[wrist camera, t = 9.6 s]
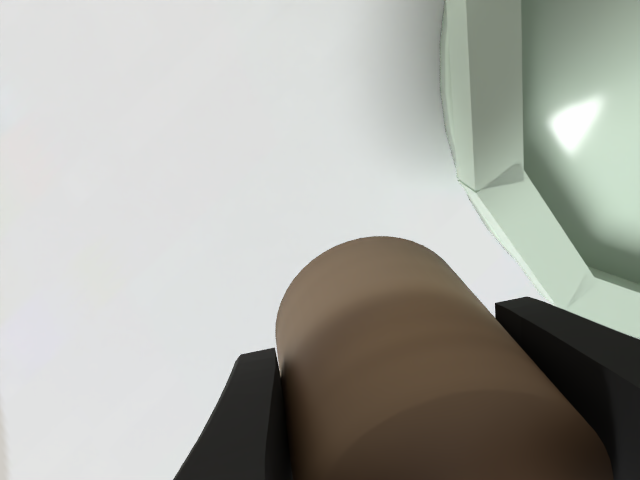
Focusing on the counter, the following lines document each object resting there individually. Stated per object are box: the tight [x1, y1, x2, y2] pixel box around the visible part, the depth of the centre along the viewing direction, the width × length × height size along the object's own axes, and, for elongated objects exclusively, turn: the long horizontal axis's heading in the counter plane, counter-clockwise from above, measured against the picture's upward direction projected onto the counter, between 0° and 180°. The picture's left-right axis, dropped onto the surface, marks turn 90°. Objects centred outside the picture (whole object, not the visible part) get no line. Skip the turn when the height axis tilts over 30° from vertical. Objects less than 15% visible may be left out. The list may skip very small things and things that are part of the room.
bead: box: [276, 236, 613, 480], centre depth 9 cm, size 4×4×5 cm
